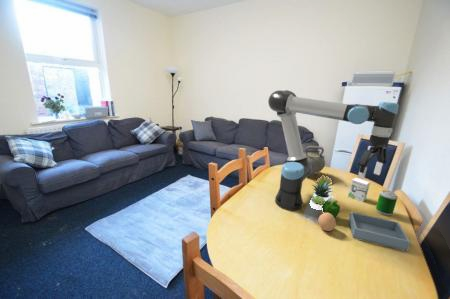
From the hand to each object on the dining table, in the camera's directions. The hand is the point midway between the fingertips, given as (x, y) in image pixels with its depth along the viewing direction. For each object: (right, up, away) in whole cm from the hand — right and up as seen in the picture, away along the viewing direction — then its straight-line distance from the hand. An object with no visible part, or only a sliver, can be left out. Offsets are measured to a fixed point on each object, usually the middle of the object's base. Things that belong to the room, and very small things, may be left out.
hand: (368, 176), depth 105 cm
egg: (-25, -24, -7) cm, 36 cm away
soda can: (+14, -21, +8) cm, 27 cm away
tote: (-4, -26, -9) cm, 27 cm away
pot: (-8, -6, +57) cm, 58 cm away
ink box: (+8, -17, +23) cm, 30 cm away
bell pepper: (-19, -22, +2) cm, 29 cm away
